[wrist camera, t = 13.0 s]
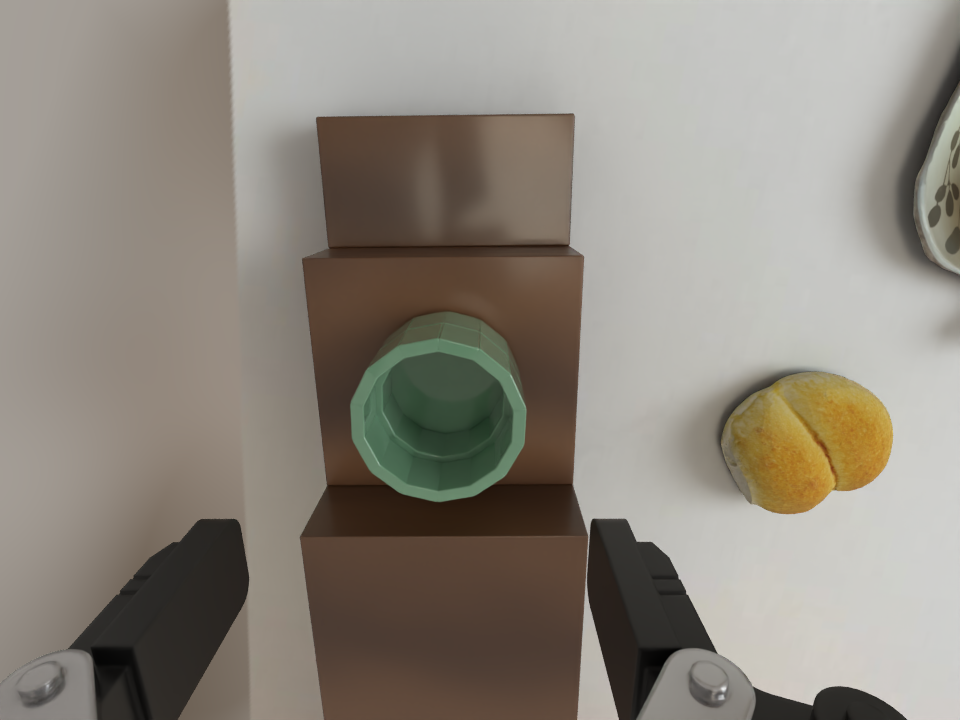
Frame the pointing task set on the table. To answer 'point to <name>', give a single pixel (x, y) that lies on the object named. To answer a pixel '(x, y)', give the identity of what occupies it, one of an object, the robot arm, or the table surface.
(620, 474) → the table surface
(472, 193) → the wooden stair steps
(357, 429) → the cup
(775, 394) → the bread roll
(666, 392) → the table surface
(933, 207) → the salad plate
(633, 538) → the robot arm
